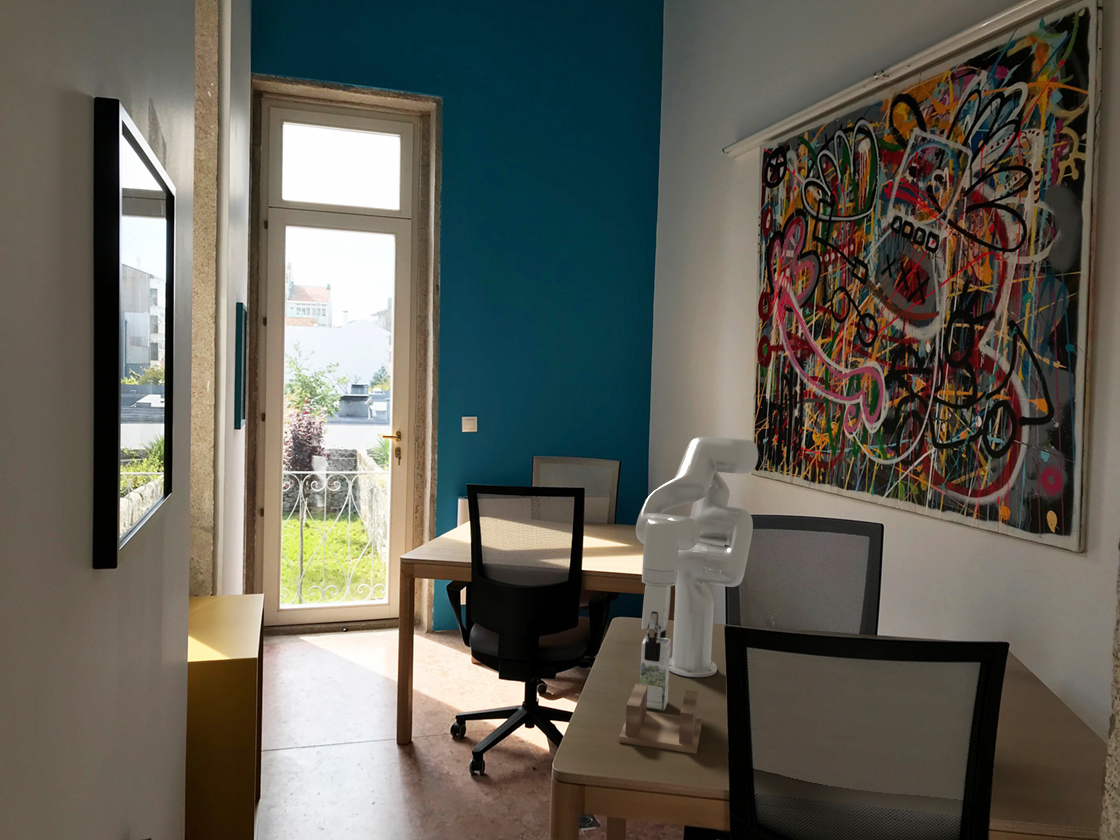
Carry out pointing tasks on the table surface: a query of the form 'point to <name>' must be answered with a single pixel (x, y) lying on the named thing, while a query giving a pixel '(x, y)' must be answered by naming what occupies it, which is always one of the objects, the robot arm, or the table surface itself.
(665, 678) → the syrup box
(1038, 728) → the table surface
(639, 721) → the slot block
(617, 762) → the table surface
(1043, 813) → the table surface
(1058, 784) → the table surface
